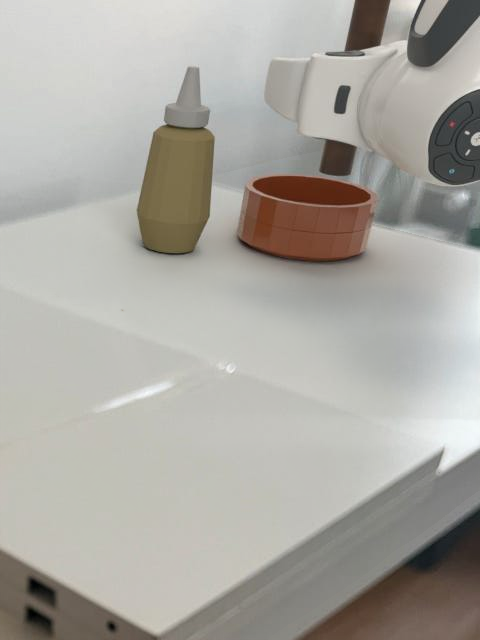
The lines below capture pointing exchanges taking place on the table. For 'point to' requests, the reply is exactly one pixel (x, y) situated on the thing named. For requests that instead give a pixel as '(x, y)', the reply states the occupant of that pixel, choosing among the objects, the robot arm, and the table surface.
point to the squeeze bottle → (178, 174)
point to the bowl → (306, 216)
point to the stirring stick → (361, 36)
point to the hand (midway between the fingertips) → (352, 74)
